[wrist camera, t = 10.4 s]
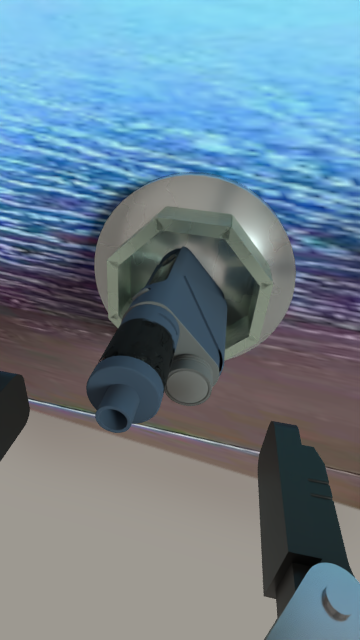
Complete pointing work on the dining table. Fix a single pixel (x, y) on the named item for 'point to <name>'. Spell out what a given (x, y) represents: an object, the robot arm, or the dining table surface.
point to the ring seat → (201, 250)
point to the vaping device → (162, 345)
